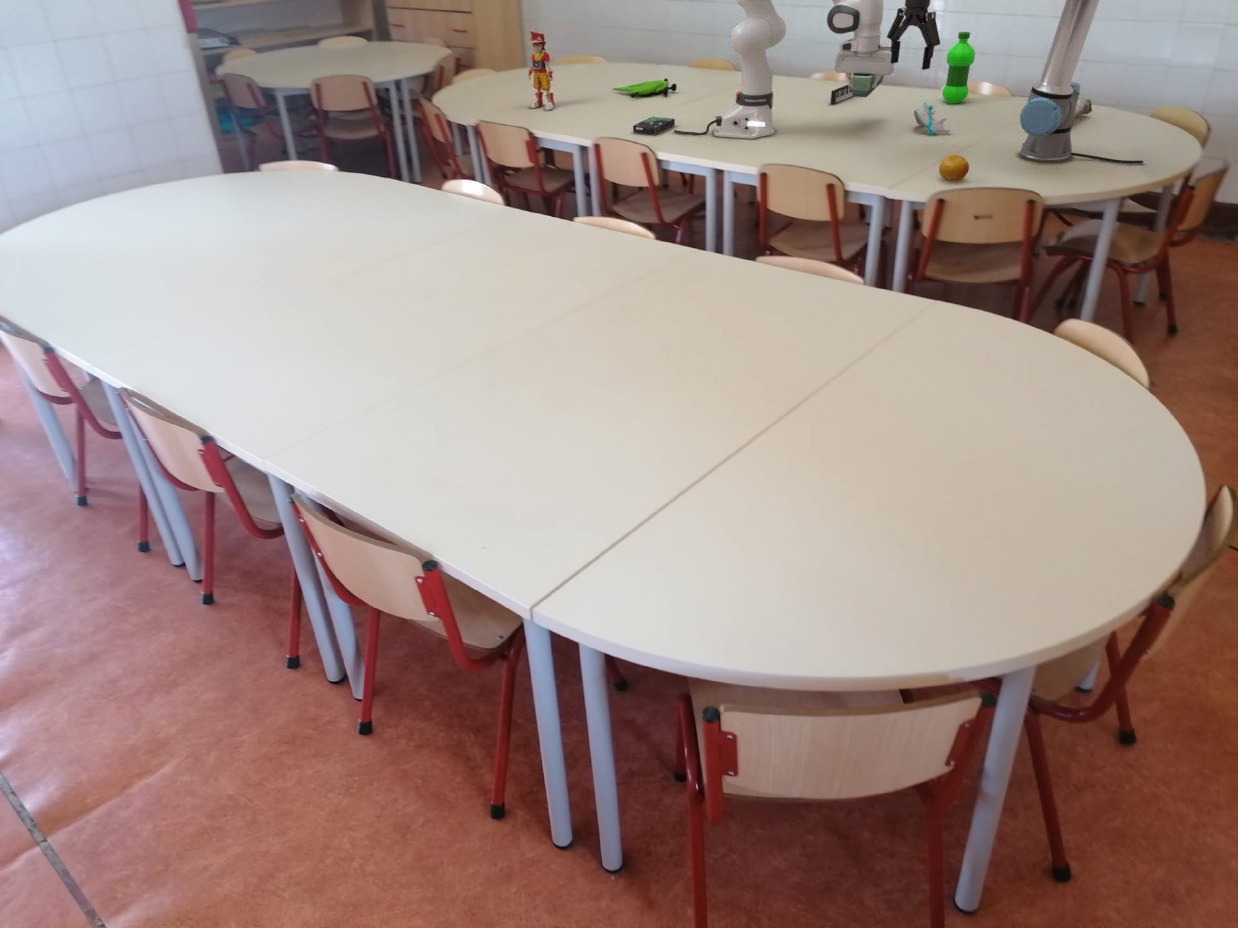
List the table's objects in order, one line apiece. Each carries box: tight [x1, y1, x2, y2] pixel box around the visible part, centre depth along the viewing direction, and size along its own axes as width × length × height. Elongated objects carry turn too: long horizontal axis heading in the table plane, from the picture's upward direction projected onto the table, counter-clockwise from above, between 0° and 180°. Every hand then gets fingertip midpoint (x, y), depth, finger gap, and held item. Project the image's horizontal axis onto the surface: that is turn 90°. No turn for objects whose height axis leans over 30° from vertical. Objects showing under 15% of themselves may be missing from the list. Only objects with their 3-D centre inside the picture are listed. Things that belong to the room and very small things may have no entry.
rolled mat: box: [1073, 97, 1093, 121], centre depth 320 cm, size 30×9×10 cm
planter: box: [850, 73, 885, 98], centre depth 321 cm, size 28×7×7 cm, turn 154°
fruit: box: [938, 154, 970, 182], centre depth 276 cm, size 8×8×8 cm
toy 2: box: [612, 78, 677, 99], centre depth 396 cm, size 28×5×30 cm
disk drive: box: [632, 116, 676, 136], centre depth 344 cm, size 10×3×15 cm
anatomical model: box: [913, 101, 951, 135], centre depth 322 cm, size 15×10×10 cm
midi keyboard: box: [830, 84, 853, 105], centre depth 365 cm, size 18×1×5 cm, turn 138°
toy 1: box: [527, 31, 556, 111], centre depth 374 cm, size 12×9×30 cm
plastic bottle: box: [942, 31, 976, 104], centre depth 348 cm, size 10×10×25 cm
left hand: (862, 87), depth 314 cm, fingers closed on planter, 6 cm apart
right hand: (909, 66), depth 291 cm, fingers open, 13 cm apart
